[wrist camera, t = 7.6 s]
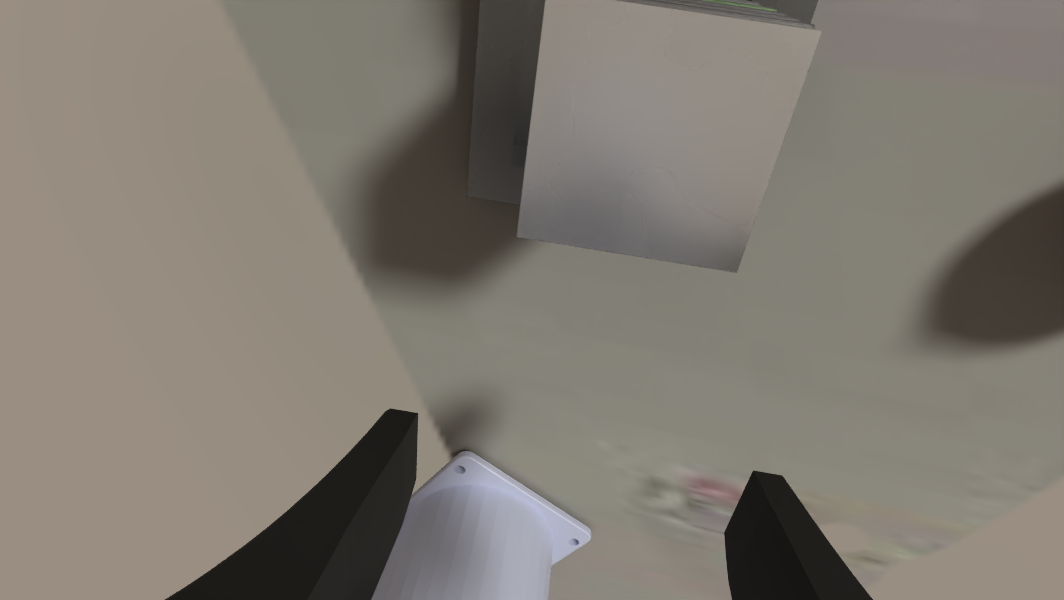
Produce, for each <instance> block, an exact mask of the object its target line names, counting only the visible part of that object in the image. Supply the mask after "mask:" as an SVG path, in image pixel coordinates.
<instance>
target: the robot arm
mask: <svg viewBox="0 0 1064 600" xmlns="http://www.w3.org/2000/svg"><path fill="white" fill-rule="evenodd" d="M417 431H418V413H413V412H408V411H402V410H396V409H389V410H387V411H386V412H385V413H384V414H383V415H382V416H381V417H380V418H379V420H378V421H377V422H376V423H375V424H374V426H373V427H372V428H371V429H370V430H369V431H368V432H367V434H366V435H365V436H364V437H363V438H362V439H361V440H360V441H359V442H358V443H357V444H356V445H355V446H354V447H353V449H352V450H351V451H350V452H349V453H348V454H347V455H346V456H345V457H344V458H343V459H342V460H341V461H340V462H339V463H338V464H337V465H336V466H335V467H334V468H333V469H332V470H331V471H330V472H329V473H328V474H327V475H326V476H325V477H324V478H323V479H322V480H321V481H320V482H319V483H318V484H317V485H315V486H314V487H313V488H312V489H311V490H310V491H309V492H308V493H307V494H306V495H304V496H303V497H302V498H301V499H300V500H299V501H298V502H297V503H295V504H294V505H293V506H292V507H291V508H290V509H289V510H288V511H287V512H285V513H284V514H283V515H282V516H281V517H280V518H278V519H277V520H276V521H275V522H273V523H272V524H271V525H270V526H269V527H267V528H266V529H265V530H264V531H262V532H261V533H260V534H259V535H257V536H256V537H255V538H253V539H252V540H251V541H250V542H248V543H247V544H246V545H244V546H243V547H242V548H241V549H239V550H238V551H236V552H235V553H234V554H232V555H231V556H229V557H228V558H227V559H226V560H224V561H222V562H221V563H220V564H218V565H217V566H216V567H214V568H213V569H211V570H210V571H208V572H207V573H205V574H204V575H203V576H201V577H200V578H198V579H197V580H195V581H194V582H192V583H191V584H189V585H188V586H186V587H185V588H183V589H181V590H180V591H178V592H176V593H175V594H173V595H172V596H170V597H169V598H167V599H165V600H548V596H549V585H550V574H551V566H552V565H553V564H555V563H556V562H558V561H560V560H561V559H563V558H564V557H566V556H567V555H569V554H570V553H572V552H573V551H575V550H576V549H578V548H579V547H581V546H583V545H584V544H586V543H587V542H589V540H590V539H591V530H590V529H589V528H588V527H587V526H585V525H584V524H582V523H581V522H579V521H578V520H576V519H574V518H573V517H571V516H570V515H568V514H567V513H565V512H564V511H562V510H561V509H559V508H557V507H556V506H554V505H553V504H551V503H550V502H548V501H547V500H545V499H544V498H542V497H541V496H539V495H537V494H536V493H534V492H533V491H531V490H530V489H528V488H527V487H525V486H524V485H522V484H521V483H519V482H517V481H516V480H514V479H513V478H511V477H510V476H508V475H507V474H505V473H504V472H502V471H501V470H499V469H497V468H496V467H494V466H493V465H491V464H490V463H488V462H487V461H485V460H484V459H482V458H481V457H479V456H477V455H476V454H474V453H472V452H470V451H462V452H460V453H459V454H458V455H457V456H455V457H454V458H453V459H452V460H451V461H450V462H449V463H448V464H446V465H445V466H444V467H443V468H442V469H441V470H440V471H439V472H437V473H436V474H435V475H434V476H433V477H432V478H431V479H430V480H429V481H427V482H426V483H425V484H424V485H423V486H422V487H421V488H419V489H418V490H417V491H416V492H415V493H414V494H413V495H412V491H413V488H414V484H415V481H416V465H417ZM459 466H462V467H459ZM411 495H412V496H411ZM724 534H725V548H726V561H727V571H728V581H729V586H730V591H731V596H732V600H873V599H872V598H871V597H870V596H869V594H868V593H867V592H866V590H865V589H864V588H863V587H862V585H861V584H860V583H859V581H858V580H857V579H856V578H855V576H854V575H853V574H852V572H851V571H850V570H849V568H848V567H847V566H846V564H845V563H844V562H843V560H842V559H841V558H840V556H839V555H838V554H837V552H836V551H835V550H834V548H833V547H832V546H831V544H830V543H829V541H828V540H827V539H826V537H825V536H824V534H823V533H822V532H821V530H820V529H819V527H818V526H817V524H816V523H815V522H814V520H813V519H812V517H811V516H810V515H809V513H808V512H807V510H806V509H805V507H804V506H803V505H802V503H801V502H800V500H799V499H798V497H797V496H796V494H795V493H794V492H793V490H792V489H791V487H790V486H789V484H788V483H787V482H786V480H785V479H784V477H783V476H782V475H776V474H770V473H764V472H758V471H753V472H752V474H751V476H750V478H749V481H748V483H747V485H746V487H745V489H744V491H743V494H742V496H741V498H740V500H739V502H738V504H737V506H736V509H735V511H734V513H733V515H732V517H731V519H730V521H729V524H728V526H727V528H726V530H725V532H724Z"/></svg>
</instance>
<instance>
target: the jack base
mask: <svg viewBox="0 0 1064 600" xmlns="http://www.w3.org/2000/svg"><path fill="white" fill-rule="evenodd" d="M749 1H755V2H759V5H761V6H763V7H769V8H774V9H776V10H777V11H776V12H783V13H786V14H787V16H789V17H795V18H798V19H800V21H799V22H805V23H811V20H812V17H813V14H814V11H815V8H816V5H817V2H818V0H749ZM544 7H545V0H480V7H479V22H478V36H477V51H476V65H475V80H474V94H473V109H472V123H471V137H470V152H469V166H468V181H467V195H466V197H472V198H478V199H485V200H491V201H497V202H503V203H510V204H516V205H520V204H521V196H522V188H523V180H524V171H525V163H526V155H527V147H528V139H529V130H530V122H531V114H532V106H533V98H534V89H535V81H536V73H537V65H538V57H539V48H540V40H541V32H542V24H543V16H544Z"/></svg>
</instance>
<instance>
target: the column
mask: <svg viewBox="0 0 1064 600" xmlns="http://www.w3.org/2000/svg"><path fill="white" fill-rule="evenodd" d="M776 11H777V10H776V9H774V8H769V7H763V6H761V5H759V2H755V1H749V0H545V7H544V16H543V24H542V32H541V40H540V48H539V57H538V65H537V73H536V81H535V89H534V98H533V106H532V114H531V122H530V130H529V139H528V147H527V155H526V163H525V171H524V180H523V188H522V196H521V204H520V213H519V221H518V229H517V237H519V238H525V239H531V240H538V241H544V242H550V243H556V244H562V245H568V246H575V247H581V248H587V249H593V250H599V251H606V252H612V253H618V254H624V255H630V256H637V257H643V258H649V259H655V260H661V261H667V262H674V263H680V264H686V265H692V266H698V267H705V268H711V269H717V270H723V271H729V272H735V273H737V270H738V268H739V265H740V262H741V259H742V256H743V253H744V251H745V248H746V245H747V242H748V239H749V236H750V234H751V231H752V228H753V225H754V222H755V219H756V217H757V214H758V211H759V208H760V205H761V202H762V200H763V197H764V194H765V191H766V188H767V185H768V183H769V180H770V177H771V174H772V171H773V168H774V166H775V163H776V160H777V157H778V154H779V152H780V149H781V146H782V143H783V140H784V137H785V135H786V132H787V129H788V126H789V123H790V120H791V118H792V115H793V112H794V109H795V106H796V103H797V101H798V98H799V95H800V92H801V89H802V86H803V84H804V81H805V78H806V75H807V72H808V69H809V67H810V64H811V61H812V58H813V55H814V52H815V50H816V47H817V44H818V41H819V38H820V36H821V33H822V31H820V30H818V29H816V28H814V26H815V25H813V24H811V23H805V22H799V21H800V19H798V18H795V17H789V16H787V14H786V13H783V12H776Z"/></svg>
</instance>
